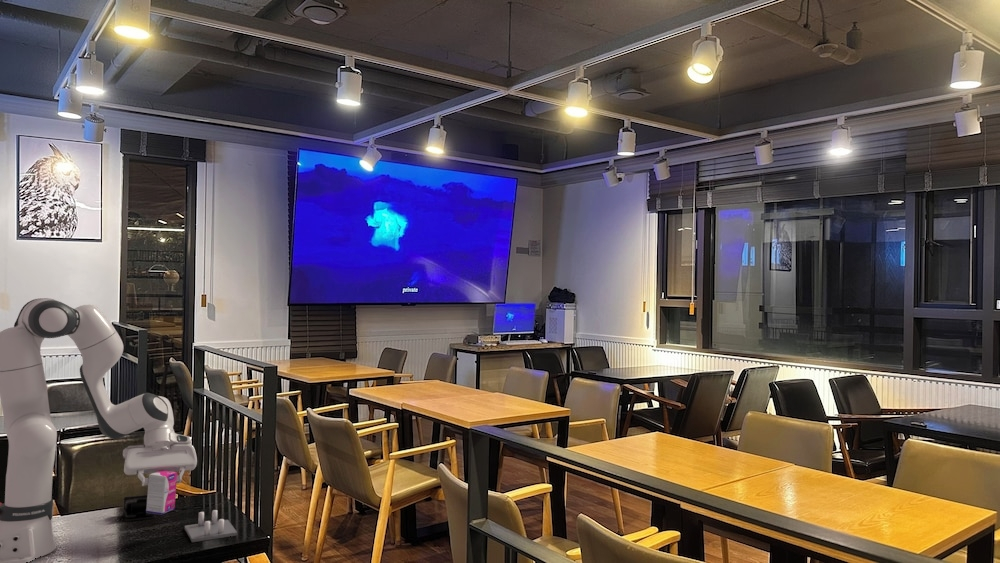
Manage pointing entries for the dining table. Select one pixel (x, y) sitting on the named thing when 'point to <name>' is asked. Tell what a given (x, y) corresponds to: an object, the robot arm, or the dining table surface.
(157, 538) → the dining table surface
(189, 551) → the dining table surface
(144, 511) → the end cap
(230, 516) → the dining table surface
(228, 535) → the pin tray
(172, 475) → the supplement box
